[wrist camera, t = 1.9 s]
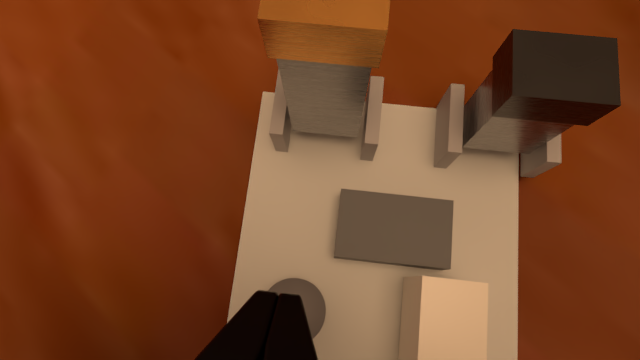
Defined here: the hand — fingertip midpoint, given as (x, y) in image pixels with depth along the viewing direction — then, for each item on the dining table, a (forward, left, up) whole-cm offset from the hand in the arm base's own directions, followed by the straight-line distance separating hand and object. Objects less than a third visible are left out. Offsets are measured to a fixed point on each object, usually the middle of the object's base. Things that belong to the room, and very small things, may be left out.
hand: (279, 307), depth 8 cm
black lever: (+11, -3, -10) cm, 15 cm away
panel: (+4, -1, -13) cm, 13 cm away
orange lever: (+7, +4, -10) cm, 13 cm away
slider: (+2, -5, -12) cm, 13 cm away
